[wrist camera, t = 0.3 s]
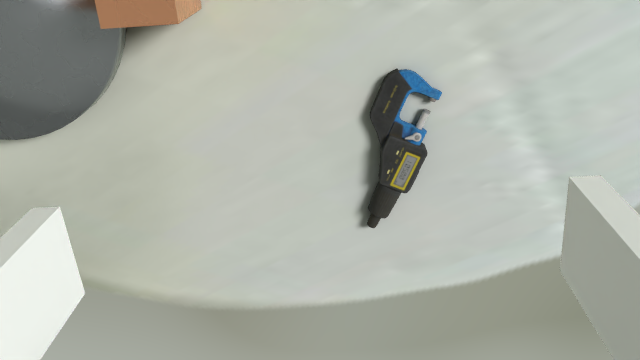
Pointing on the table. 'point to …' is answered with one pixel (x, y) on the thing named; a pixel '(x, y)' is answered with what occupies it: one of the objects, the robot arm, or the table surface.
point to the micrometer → (397, 140)
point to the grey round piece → (66, 56)
